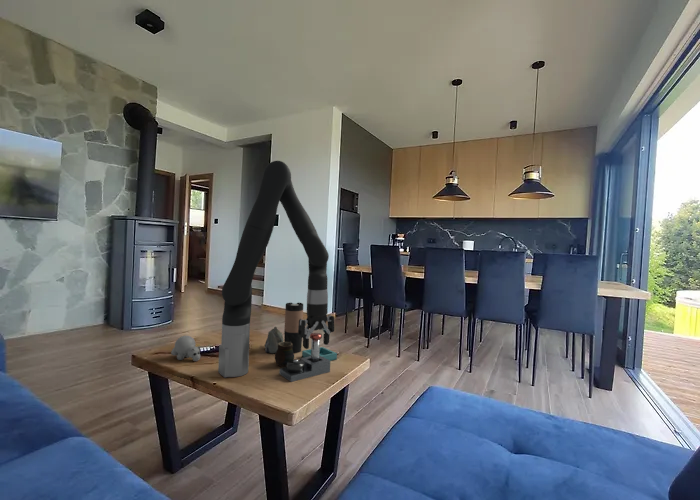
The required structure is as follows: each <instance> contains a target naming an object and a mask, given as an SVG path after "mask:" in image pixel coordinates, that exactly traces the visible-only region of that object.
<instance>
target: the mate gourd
mask: <svg viewBox="0 0 700 500" xmlns="http://www.w3.org/2000/svg"><path fill="white" fill-rule="evenodd" d="M290 342H291V341H290ZM290 342H284V341H283V342H280V343H278V349H277V351H276V353H274V361H275V363H276V365H277V366H278V367H280V368H284V367H287V362H288V361H291V360H294V359H295V353H294V352H293V349H292V347H293V344H292V343H290Z"/></svg>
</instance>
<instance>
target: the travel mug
mask: <svg viewBox="0 0 700 500" xmlns="http://www.w3.org/2000/svg"><path fill="white" fill-rule="evenodd" d="M284 310H285V311H284V312H285V313H284V333H283V334H284V335H283V340H284V341H283V342H290V341H291V342H290V343H292V344H293V347H292V349H293V352H294V354H298V353H301V352H302V348H303V347H302V346H303V338H302V337H300V336H298V326H299V320H300V319H302V320H304V303H302V302H297V303H293V302H286V303H285V308H284Z"/></svg>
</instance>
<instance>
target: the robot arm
mask: <svg viewBox="0 0 700 500" xmlns="http://www.w3.org/2000/svg"><path fill="white" fill-rule="evenodd" d="M291 173H292V172H291V169H290V168H289V166H288V164H287V163H285V162H284V161H282V160H273V161H271V162H270V163H268V164H266V166H265V167H264V170H263V174H262V179H261V183H260V186H259V191H258V194H257V197H256V200H255V202H254V203H253V206H252V208H251V210H250V213H249V215H248V218H247V220H246V223H245V225H244V228H243V231H242V234H241V238H240V241H239V244H238V247H237V252H236V256H235V260H234V261H233V265H232V267H231V270H230V271H229V273H228V276H227V278H226V280H225V282H224V284H223V286H222V287H221V295H222V298H223V302H224V303H223V304H224V305H223V306H224V307H223V313H222V316H221V317H222V318H221V319H222V321H221V340H220V341H221V344H219V347H218V367H217V368H218V371H217V372H218V373H219V375H221V376H222V377H223V378H237V377H242V376H245V375H246V374H248V373H249V366H250V365H249V364H250V363H249V362H250V358H249V357H250V337H251V336H250V334H251V333H250V332H251V331H250V330H251V314H252V302H253V301H252V300H253V299H252V298H253V287H252V282H253V278H254V275H255V273H256V269H257V267H258V265H259V262H260V261H261V259H262V257H263V256H264V253H265V251H266V249H267V247H268V245H269V242H270V241H271V240H270V239H271V237H272V234H273V230H274V226H275V223H276V219H277V218H276V217H277V212H278V206H279V202H280V203H281V205H282V207H283V210H284V212H285V213H286V216H287V218H288V220H289V223H290V225H291V228H292V229H293V231H294V233H295V235H296V237H297V239H298V240H299V242H300V243H301V245H302V246H303V249H304V252H305V254H306V255H307V256H306V257H307V258H308V276H307V277H308V278H307V292H306V293H307V294H306V319H303V320H302V319H300V320H299V326H298V336H300V337H302V346H303V347H302V348H304V349H305V350H309V348H310V334H311V333H314V332H315V331H318V330H319V331H321V330H322V331H323V341H322V342H323V344H324V345H325V346H328V345H329V343H330V334H331V333H334V332H335V317H334V316H333V315H330V314H329V315H328V311H329V310H328V307H329V306H328V303H329V299H328V298H329V294H328V274H327V270H328V269H327V267H328V261H329V253H328V250H327V247H326V246H325V245H324V243H323V241H322V239H321V238H320V236H319V234H318V232H317V229H316V227H315V225H314V223H313V221H312V219H311V218H310V216H309V214H308V212H307V211H306V209H305V208H304V206H303V204H302V203H301V201H300V199H299V197H298V195H297V194H296V191H295V187H294V185H293V182H292V174H291Z"/></svg>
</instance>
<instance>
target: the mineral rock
mask: <svg viewBox="0 0 700 500" xmlns="http://www.w3.org/2000/svg"><path fill="white" fill-rule="evenodd" d="M280 342H284V335H283V333H282V332H281V330H279V329H278V327H277V326H274V328H272V329H271V330H270V331H268V332H267V338H266V341H265V344H264V349H265V353H267V354H275V353H276V351H277V349H278V343H280Z"/></svg>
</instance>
